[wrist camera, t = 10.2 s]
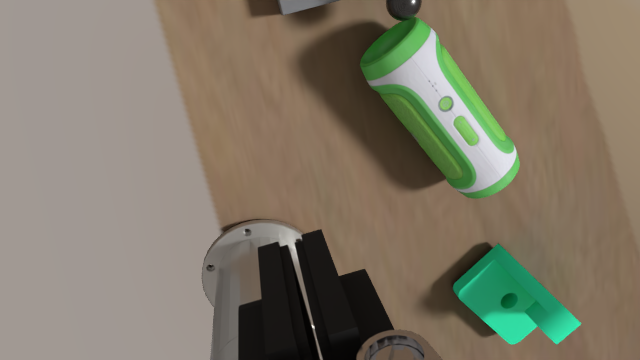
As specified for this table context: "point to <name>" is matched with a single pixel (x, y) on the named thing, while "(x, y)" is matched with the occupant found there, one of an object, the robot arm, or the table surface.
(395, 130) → the table surface
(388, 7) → the capstan
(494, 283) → the camera mount
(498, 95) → the table surface
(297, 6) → the stand
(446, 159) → the speaker
